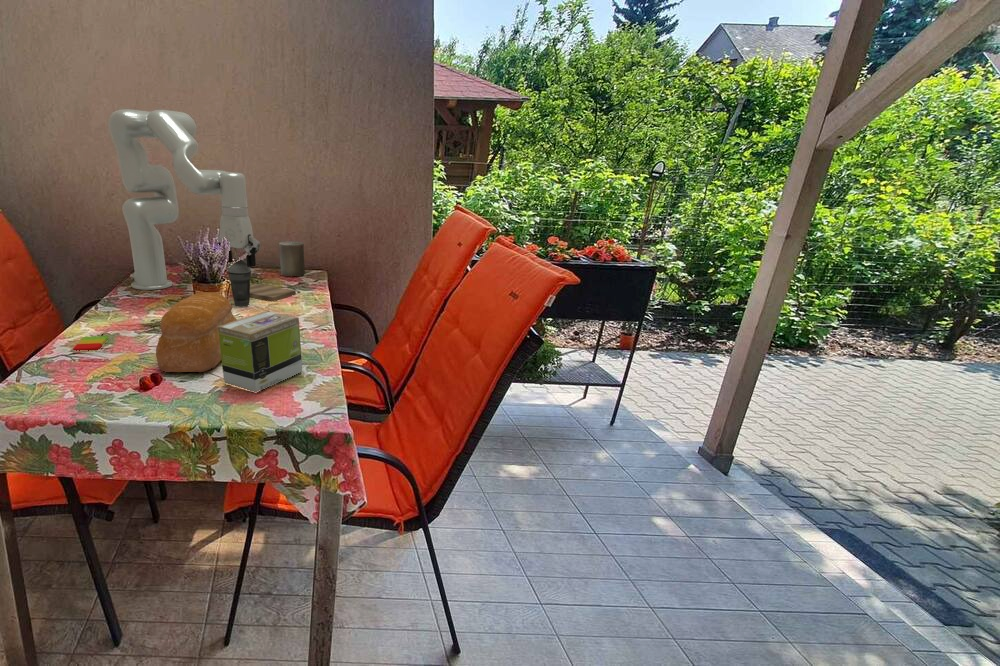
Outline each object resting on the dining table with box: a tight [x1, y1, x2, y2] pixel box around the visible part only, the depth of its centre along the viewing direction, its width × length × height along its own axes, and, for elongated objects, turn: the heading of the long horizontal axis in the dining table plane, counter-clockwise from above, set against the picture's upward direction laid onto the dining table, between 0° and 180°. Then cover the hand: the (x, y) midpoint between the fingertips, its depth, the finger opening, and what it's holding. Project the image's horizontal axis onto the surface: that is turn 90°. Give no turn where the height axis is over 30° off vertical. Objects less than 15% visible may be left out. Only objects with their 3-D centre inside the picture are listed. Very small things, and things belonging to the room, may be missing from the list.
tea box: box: [218, 310, 303, 392], centre depth 124 cm, size 15×10×15 cm, turn 157°
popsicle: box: [72, 332, 109, 351], centre depth 139 cm, size 6×15×2 cm, turn 22°
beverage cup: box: [227, 248, 252, 308], centre depth 177 cm, size 7×7×20 cm
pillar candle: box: [278, 239, 306, 278], centre depth 225 cm, size 10×10×15 cm
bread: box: [155, 292, 237, 373], centre depth 135 cm, size 14×26×15 cm, turn 10°
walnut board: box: [250, 283, 297, 302], centre depth 195 cm, size 18×12×2 cm, turn 71°
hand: (239, 264), depth 176 cm, fingers open, 9 cm apart
